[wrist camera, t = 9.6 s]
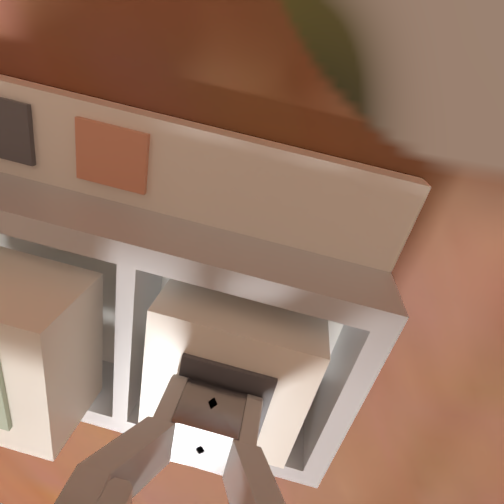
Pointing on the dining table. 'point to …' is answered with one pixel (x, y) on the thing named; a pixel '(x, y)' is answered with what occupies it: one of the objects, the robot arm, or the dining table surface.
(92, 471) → the robot arm
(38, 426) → the sage key
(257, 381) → the charcoal key
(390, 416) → the dining table surface
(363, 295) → the keypad base
